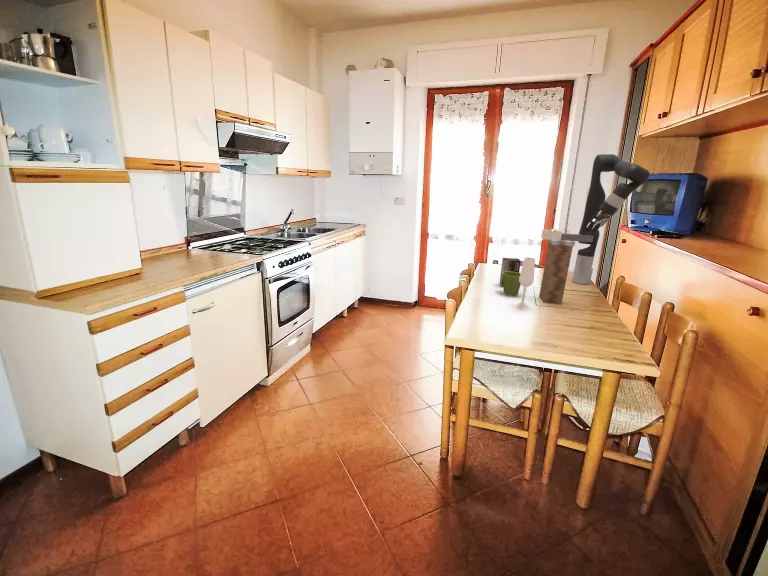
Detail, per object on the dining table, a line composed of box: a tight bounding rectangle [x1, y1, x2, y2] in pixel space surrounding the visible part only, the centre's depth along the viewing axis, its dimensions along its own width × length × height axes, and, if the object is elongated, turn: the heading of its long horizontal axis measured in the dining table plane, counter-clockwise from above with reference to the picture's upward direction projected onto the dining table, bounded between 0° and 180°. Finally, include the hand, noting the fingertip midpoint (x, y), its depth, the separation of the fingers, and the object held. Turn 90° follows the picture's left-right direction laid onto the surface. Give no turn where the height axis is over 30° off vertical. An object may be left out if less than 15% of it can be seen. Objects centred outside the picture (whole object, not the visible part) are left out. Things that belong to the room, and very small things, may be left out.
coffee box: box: [498, 257, 522, 288], centre depth 218 cm, size 9×6×16 cm
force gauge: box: [540, 228, 594, 242], centre depth 188 cm, size 23×5×5 cm, turn 81°
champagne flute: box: [514, 256, 536, 309], centre depth 184 cm, size 7×7×24 cm
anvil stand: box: [538, 239, 576, 305], centre depth 193 cm, size 10×10×32 cm
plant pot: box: [502, 271, 522, 297], centre depth 205 cm, size 12×12×11 cm
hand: (590, 231), depth 198 cm, fingers open, 8 cm apart
